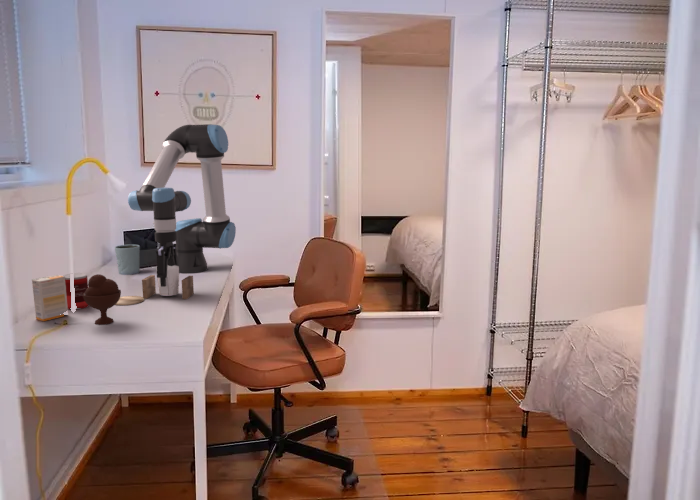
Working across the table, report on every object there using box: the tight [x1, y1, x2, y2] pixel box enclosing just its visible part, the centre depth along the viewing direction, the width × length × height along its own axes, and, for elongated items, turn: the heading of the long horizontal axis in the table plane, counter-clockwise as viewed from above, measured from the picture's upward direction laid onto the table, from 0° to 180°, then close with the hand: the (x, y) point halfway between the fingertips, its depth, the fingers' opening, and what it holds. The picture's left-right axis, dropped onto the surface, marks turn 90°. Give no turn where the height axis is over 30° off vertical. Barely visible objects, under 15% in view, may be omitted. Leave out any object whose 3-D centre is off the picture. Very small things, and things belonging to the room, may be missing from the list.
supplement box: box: [31, 274, 69, 322], centre depth 175 cm, size 8×5×13 cm, turn 145°
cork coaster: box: [114, 295, 145, 306], centre depth 196 cm, size 11×11×1 cm
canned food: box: [62, 272, 90, 310], centre depth 187 cm, size 8×8×11 cm
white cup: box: [155, 265, 180, 297], centre depth 202 cm, size 8×8×10 cm
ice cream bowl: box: [83, 273, 122, 326], centre depth 170 cm, size 11×11×15 cm
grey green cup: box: [114, 244, 141, 276], centre depth 243 cm, size 10×10×12 cm
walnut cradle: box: [141, 274, 195, 300], centre depth 202 cm, size 8×16×7 cm, turn 87°
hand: (169, 291), depth 203 cm, fingers closed on white cup, 7 cm apart
